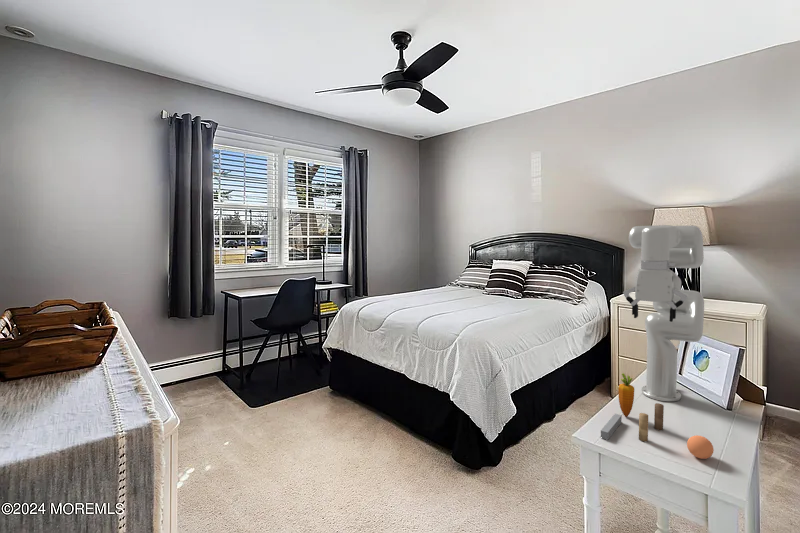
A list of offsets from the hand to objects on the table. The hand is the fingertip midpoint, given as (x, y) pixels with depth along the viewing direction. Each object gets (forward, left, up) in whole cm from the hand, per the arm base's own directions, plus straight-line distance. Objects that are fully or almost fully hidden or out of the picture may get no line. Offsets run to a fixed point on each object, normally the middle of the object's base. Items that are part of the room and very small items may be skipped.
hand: (653, 318), depth 128 cm
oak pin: (+12, +1, -35) cm, 37 cm away
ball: (+12, +15, -32) cm, 38 cm away
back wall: (+12, -8, -35) cm, 38 cm away
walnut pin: (+2, +3, -35) cm, 35 cm away
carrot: (0, -7, -35) cm, 36 cm away
